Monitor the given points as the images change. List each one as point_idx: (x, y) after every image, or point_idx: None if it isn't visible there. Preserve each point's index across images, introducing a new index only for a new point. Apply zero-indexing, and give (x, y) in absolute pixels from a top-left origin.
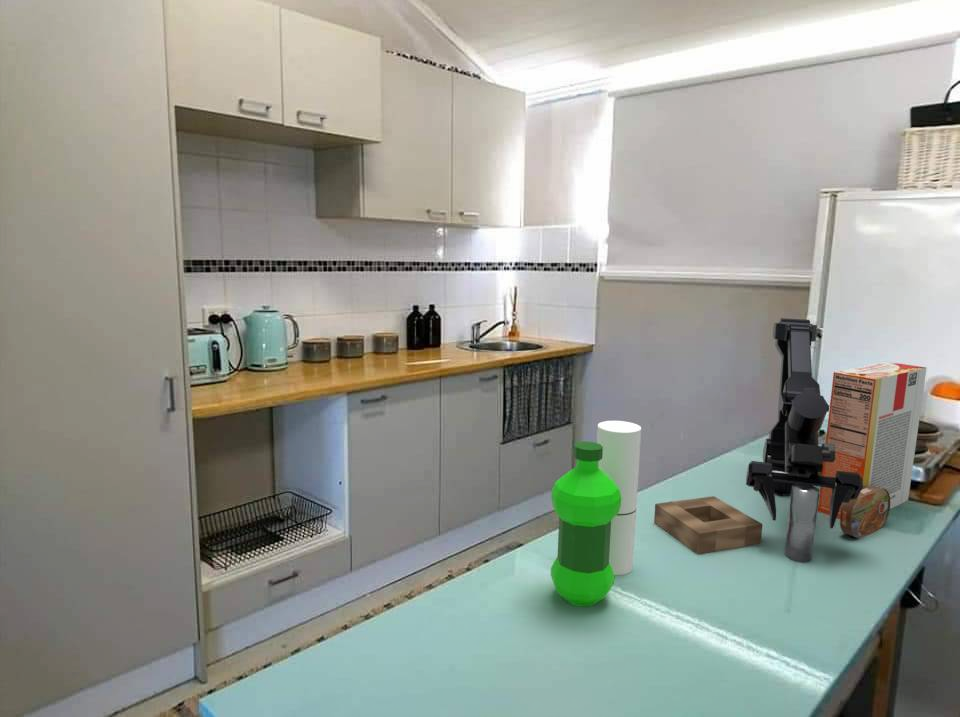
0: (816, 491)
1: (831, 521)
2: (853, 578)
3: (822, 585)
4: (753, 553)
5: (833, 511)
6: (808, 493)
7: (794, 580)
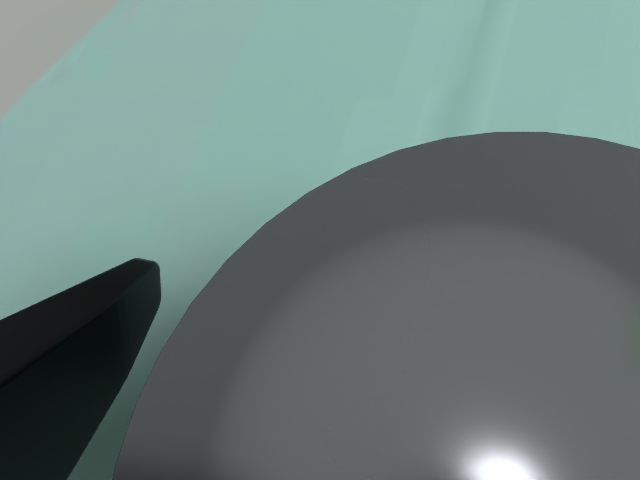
0: (274, 289)
1: (134, 280)
2: (158, 174)
3: (331, 89)
4: None
5: (42, 341)
6: (544, 149)
7: (443, 113)
